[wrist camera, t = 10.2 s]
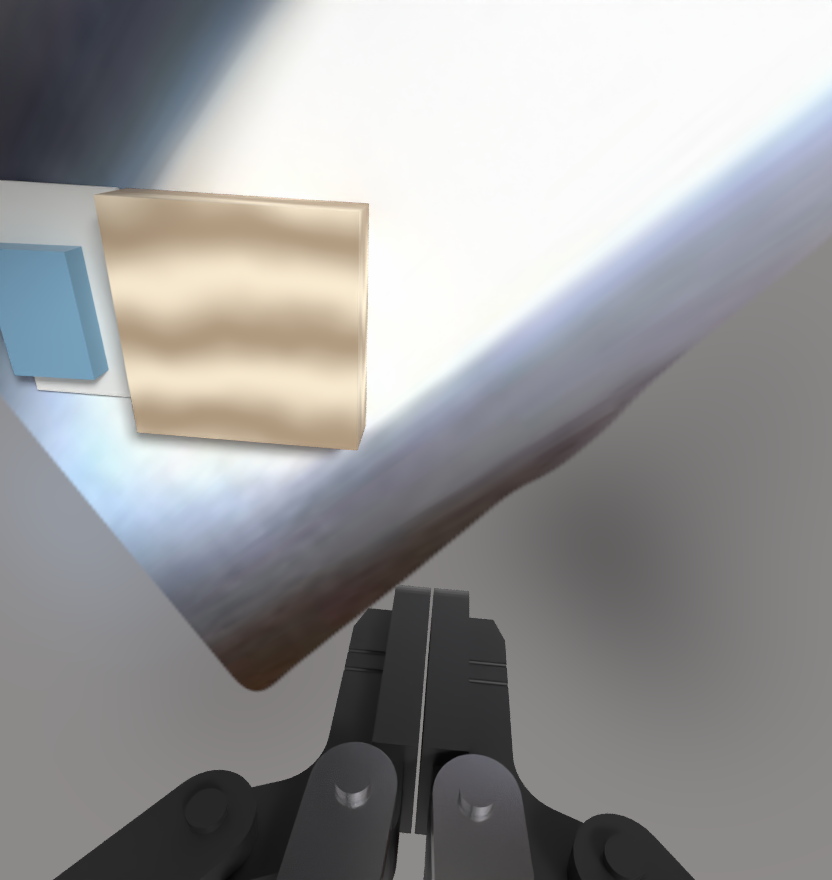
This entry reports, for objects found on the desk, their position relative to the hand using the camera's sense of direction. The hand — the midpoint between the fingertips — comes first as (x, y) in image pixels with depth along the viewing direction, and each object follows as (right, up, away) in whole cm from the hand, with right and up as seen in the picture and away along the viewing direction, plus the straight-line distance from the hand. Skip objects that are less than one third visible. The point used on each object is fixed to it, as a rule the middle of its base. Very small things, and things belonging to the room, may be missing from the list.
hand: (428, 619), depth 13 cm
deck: (-12, +12, +31) cm, 35 cm away
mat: (-25, +14, +31) cm, 42 cm away
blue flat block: (-26, +12, +29) cm, 41 cm away
